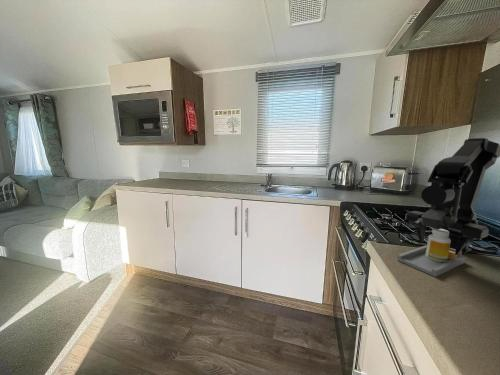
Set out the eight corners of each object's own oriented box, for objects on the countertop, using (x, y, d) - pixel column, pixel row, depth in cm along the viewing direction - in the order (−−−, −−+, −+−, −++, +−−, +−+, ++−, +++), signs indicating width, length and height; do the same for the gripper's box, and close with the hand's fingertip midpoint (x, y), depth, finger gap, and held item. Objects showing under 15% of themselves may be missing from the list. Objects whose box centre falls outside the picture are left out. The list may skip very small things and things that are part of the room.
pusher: (428, 250, 72) (429, 243, 71) (456, 260, 65) (457, 253, 65) (426, 251, 71) (428, 244, 71) (454, 261, 65) (456, 253, 64)
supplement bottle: (451, 263, 64) (457, 234, 62) (431, 261, 65) (436, 232, 63) (439, 255, 69) (444, 227, 68) (421, 253, 70) (425, 226, 69)
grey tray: (426, 249, 74) (428, 240, 73) (464, 262, 65) (466, 253, 65) (397, 260, 66) (398, 250, 66) (435, 276, 57) (437, 265, 57)
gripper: (398, 197, 69) (392, 241, 71) (477, 212, 52) (466, 268, 55) (417, 195, 74) (410, 236, 76) (494, 207, 57) (483, 259, 60)
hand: (437, 248), depth 67 cm, fingers open, 9 cm apart
